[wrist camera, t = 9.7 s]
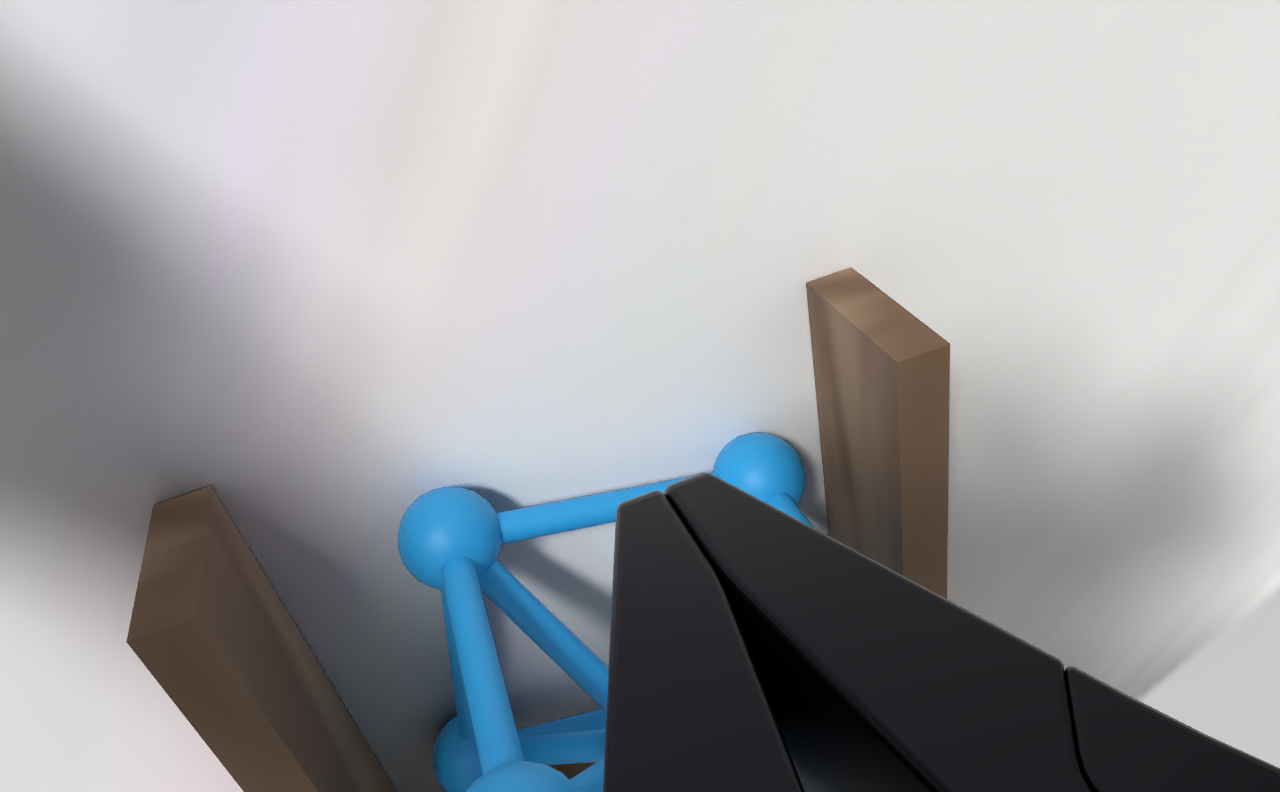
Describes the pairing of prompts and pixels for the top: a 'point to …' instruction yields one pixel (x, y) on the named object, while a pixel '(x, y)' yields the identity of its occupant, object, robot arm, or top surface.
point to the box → (360, 788)
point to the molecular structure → (538, 619)
